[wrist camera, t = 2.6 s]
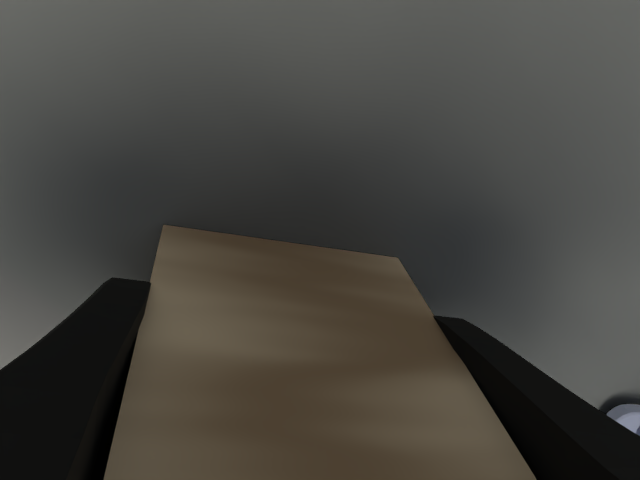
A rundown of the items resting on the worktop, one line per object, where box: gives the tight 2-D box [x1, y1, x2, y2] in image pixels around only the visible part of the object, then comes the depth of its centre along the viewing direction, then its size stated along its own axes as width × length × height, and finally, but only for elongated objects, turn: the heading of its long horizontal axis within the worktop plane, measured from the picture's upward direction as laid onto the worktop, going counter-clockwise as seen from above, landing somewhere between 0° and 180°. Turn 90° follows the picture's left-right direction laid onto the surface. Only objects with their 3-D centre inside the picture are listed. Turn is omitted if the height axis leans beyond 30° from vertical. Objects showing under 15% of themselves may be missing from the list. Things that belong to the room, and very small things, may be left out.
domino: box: [103, 225, 537, 480], centre depth 8 cm, size 5×2×8 cm, turn 77°
